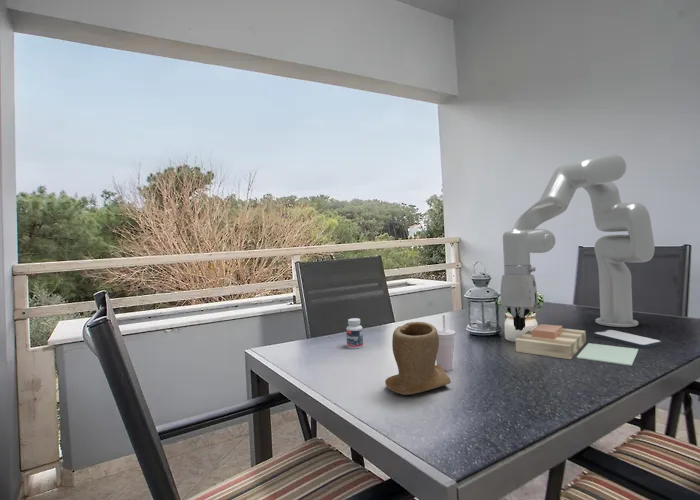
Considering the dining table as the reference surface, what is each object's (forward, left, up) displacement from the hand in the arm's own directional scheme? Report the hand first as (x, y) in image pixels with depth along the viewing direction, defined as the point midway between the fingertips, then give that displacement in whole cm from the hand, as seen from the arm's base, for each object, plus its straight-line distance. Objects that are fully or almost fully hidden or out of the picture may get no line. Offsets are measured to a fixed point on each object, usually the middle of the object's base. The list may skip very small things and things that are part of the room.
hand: (519, 329), depth 121 cm
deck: (0, +9, -4) cm, 10 cm away
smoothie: (+34, -8, -4) cm, 35 cm away
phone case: (-18, +25, -5) cm, 31 cm away
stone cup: (+49, -6, -4) cm, 50 cm away
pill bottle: (+30, -42, -4) cm, 52 cm away
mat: (0, +23, -4) cm, 23 cm away
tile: (0, +8, -1) cm, 8 cm away
